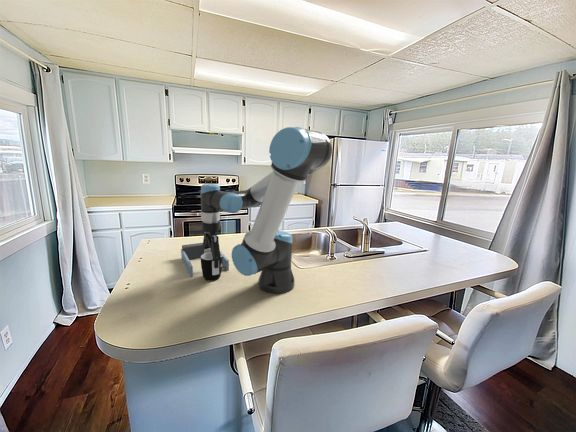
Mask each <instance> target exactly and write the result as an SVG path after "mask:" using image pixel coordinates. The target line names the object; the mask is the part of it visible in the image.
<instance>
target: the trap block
mask: <svg viewBox="0 0 576 432" xmlns="http://www.w3.org/2000/svg"><path fill="white" fill-rule="evenodd" d="M181 249H182V250H183V251H185V253H186V255H187V257H188V259H189V260H190V261H193V260H199V259H200V260H201V255H203V254H204V246H203V242H197V243H190V244H182V245H181ZM210 249H211V248H210Z"/></svg>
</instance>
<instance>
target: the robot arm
mask: <svg viewBox="0 0 576 432" xmlns="http://www.w3.org/2000/svg"><path fill="white" fill-rule="evenodd" d="M268 149H269V150H268V151H269V154H270V155H269V158H270V161H271V164H270V168H271V169H272V172H269V174H267V175H266V176H264V177H263V178H261V180H259V181H257V182H256V183H255V184H253V185H252V186H250V188H248V189H245V190H237V191H224V190H223V191H222V190H221V186H220V185H219V184H217V183H216V184H215V183H203V184H202V185H201V186H200V208H201V209H200V210H201V211H200V219H201V220H200V221H201V231H203V232H204V233H203V241H202V243H203V246H204V254H205V253H209V252H212V257H213V259H212V260H211V261H212V275H217V274H219V260H221V256H220V251H221V249H220V242H219V240H220V239H219V236H218V235H217V232H219V231H221V222H220V220H221V215H222V213H221V212H224V213H228V214H236V213H238V212H239V211H241V210H244V209H250V208H257V207H259V209H258V211H257V215H256V217H255V220H254V222H253V225H252V228H251V230H249V231H247V232H246V233H245V234H244V236H243V239H242V242H241V243H238V244H236V245H234V247H233V248H232V250H231V259H232V262H233V265H234V268H235V269H236V271H237V272H238V273H240V274H241V275H243V276H245V277H246V276H247V277H250V276H252V275H256V274H257V273H260V275H259V277H258V287H259V289H261V290H262V291H263V292H264V291H265V292H267V293H272V294H284V293H287V292H290V291H292V290H293V289H294V287H295V277H294V273H293V269H292V255H293V244H294V243H293V235H292V234H291V233H290V232H287V231H284V230H279V229H280V227H281V224H282V222H283V220H284V217H285V215H286V213H287V210H288V208H289V207H290V204H291V202H292V200H293V197H294V195H295V193H296V191H297V188H298V186H299V183H304V182H305V181H306V180H307V178H308V176H309V175H312V174H314V173H315V172H317V171H318V170H320V169H322V168H324V166H326V165H327V164H328V163H329V162H330V160H331V158H332V155H333V145H332V142H331V140H330V138H329V137H328V136H327V135H326V134H325V133H323V132H320V131H318V130H317V131H316V130H311V129H306V128H302V127H298V126H295V127H293V126H290V127H284V128H282V129H280V130H279V131H277V133H275V135H274V136H273V137H272V139H271V141H270V144H269V148H268ZM210 248H211V249H210ZM216 257H217V258H216Z"/></svg>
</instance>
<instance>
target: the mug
mask: <svg viewBox="0 0 576 432" xmlns="http://www.w3.org/2000/svg"><path fill="white" fill-rule="evenodd" d="M220 256H221V260H219V274H217V275H212V261H211V260H212V259H213V257H212V252H209V253H205V254H203V255H201V258H200V268H201V273H202V276H203V279H204V280H206V281H209V282H212V281H214V282H215V281H217V280H219V279H220V278H221V276H222V268H223V265H222V254H220ZM216 258H217V257H216Z"/></svg>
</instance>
